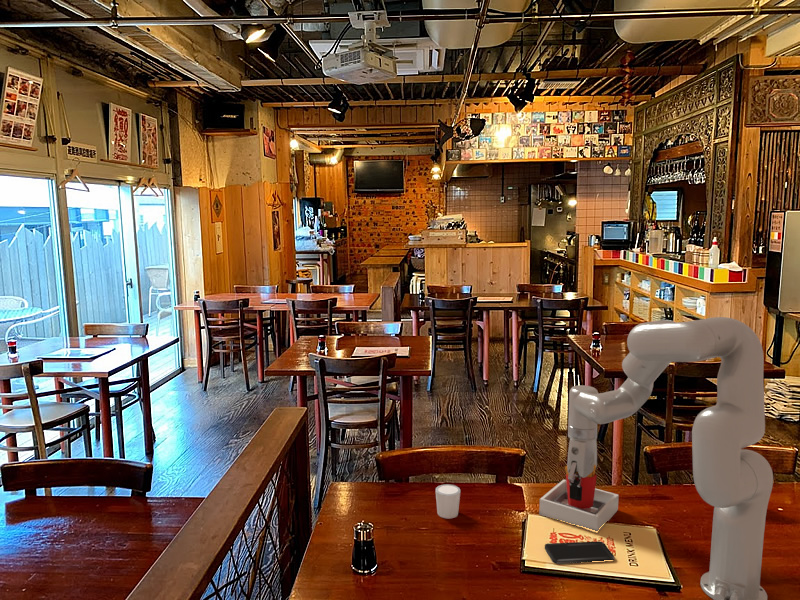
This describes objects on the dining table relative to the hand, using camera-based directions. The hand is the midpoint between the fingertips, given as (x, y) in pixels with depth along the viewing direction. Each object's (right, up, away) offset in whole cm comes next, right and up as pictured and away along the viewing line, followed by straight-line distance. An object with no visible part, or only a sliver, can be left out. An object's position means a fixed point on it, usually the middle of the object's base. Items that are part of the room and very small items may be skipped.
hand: (580, 494), depth 163 cm
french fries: (0, -3, 0) cm, 3 cm away
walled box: (0, -5, +1) cm, 5 cm away
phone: (-6, -8, -20) cm, 22 cm away
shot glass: (-36, -5, 0) cm, 37 cm away
